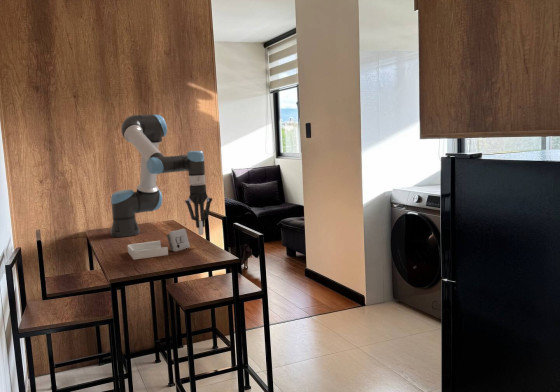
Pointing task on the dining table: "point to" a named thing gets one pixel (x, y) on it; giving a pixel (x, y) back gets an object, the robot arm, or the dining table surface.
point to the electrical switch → (178, 240)
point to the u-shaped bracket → (147, 250)
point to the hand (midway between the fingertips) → (200, 234)
